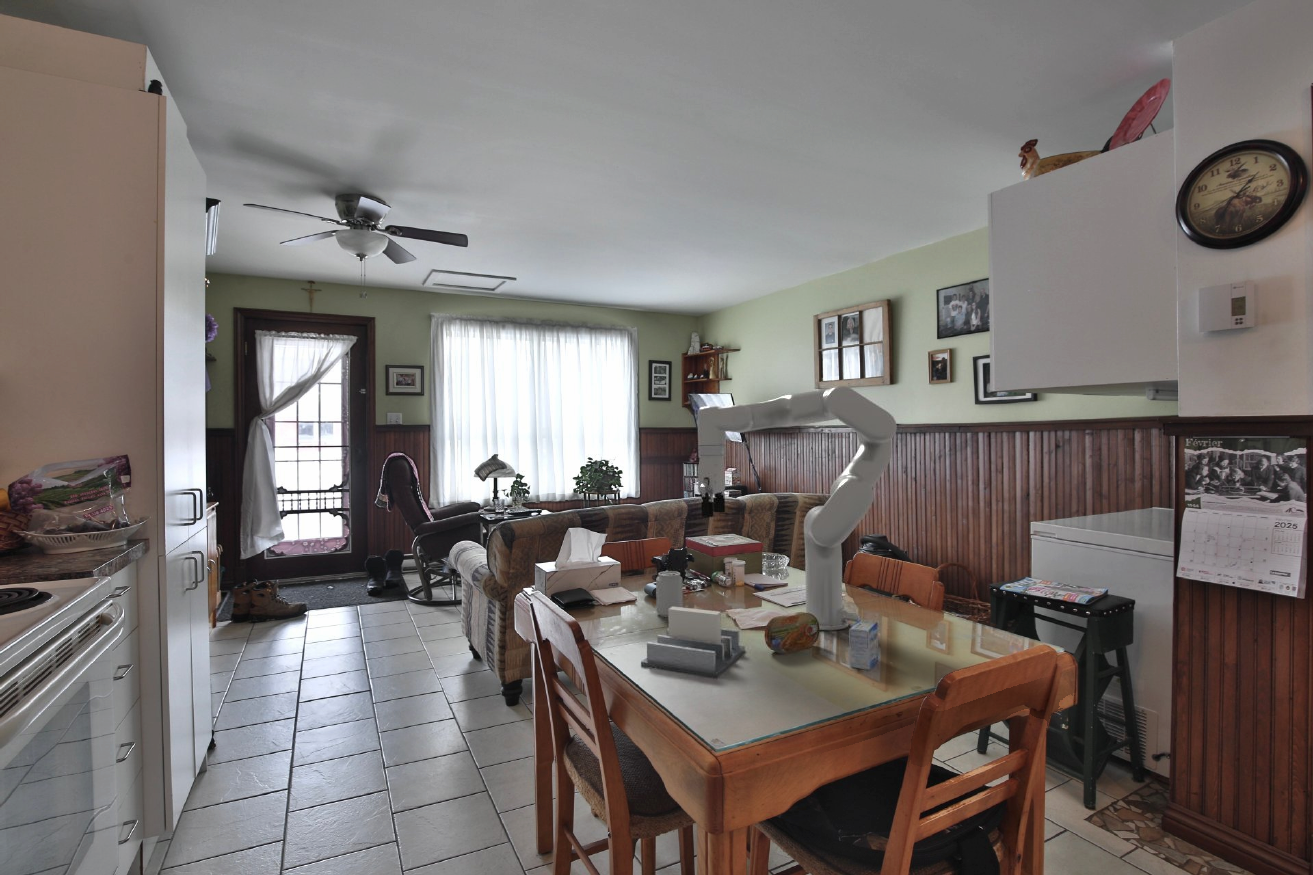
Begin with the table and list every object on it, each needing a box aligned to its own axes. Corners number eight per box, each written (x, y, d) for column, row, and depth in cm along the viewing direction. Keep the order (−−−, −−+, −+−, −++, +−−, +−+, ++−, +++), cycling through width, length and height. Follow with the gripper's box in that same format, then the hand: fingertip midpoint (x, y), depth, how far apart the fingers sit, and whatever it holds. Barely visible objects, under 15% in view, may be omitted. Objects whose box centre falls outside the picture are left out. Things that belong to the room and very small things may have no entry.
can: (680, 618, 181) (679, 576, 181) (654, 617, 183) (653, 575, 183) (684, 611, 189) (684, 570, 188) (659, 610, 190) (658, 569, 190)
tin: (770, 656, 150) (770, 620, 150) (762, 652, 153) (762, 617, 153) (820, 645, 157) (820, 611, 157) (812, 642, 160) (811, 608, 160)
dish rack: (744, 650, 155) (744, 629, 155) (716, 678, 137) (716, 654, 137) (675, 640, 162) (675, 620, 162) (641, 666, 145) (640, 643, 145)
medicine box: (869, 671, 141) (869, 631, 140) (849, 667, 143) (848, 628, 143) (878, 659, 147) (878, 621, 147) (858, 656, 150) (858, 618, 150)
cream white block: (673, 648, 154) (672, 606, 154) (721, 655, 149) (720, 611, 149) (668, 651, 151) (668, 609, 151) (717, 658, 146) (717, 614, 146)
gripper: (709, 450, 186) (711, 510, 187) (687, 453, 171) (689, 518, 171) (734, 450, 183) (736, 510, 184) (715, 453, 168) (716, 519, 168)
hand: (713, 514), depth 177 cm, fingers open, 9 cm apart
